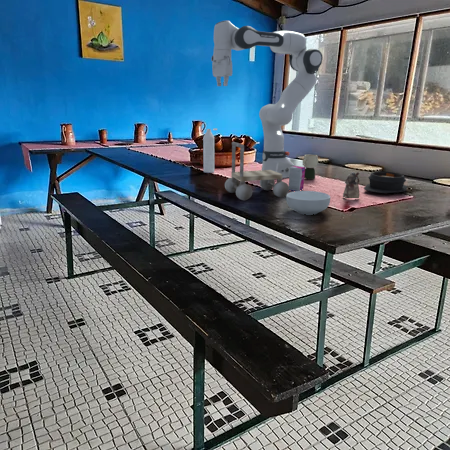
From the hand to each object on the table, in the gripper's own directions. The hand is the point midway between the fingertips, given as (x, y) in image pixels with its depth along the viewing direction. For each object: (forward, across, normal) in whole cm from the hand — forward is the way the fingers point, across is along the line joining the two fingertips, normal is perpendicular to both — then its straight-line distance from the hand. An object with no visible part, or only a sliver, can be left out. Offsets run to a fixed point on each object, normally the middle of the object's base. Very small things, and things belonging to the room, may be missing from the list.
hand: (222, 86), depth 207 cm
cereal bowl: (+48, -72, -11) cm, 87 cm away
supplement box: (+48, -37, -25) cm, 66 cm away
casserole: (+48, -52, -66) cm, 97 cm away
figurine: (+48, -59, -41) cm, 86 cm away
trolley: (+48, -39, -3) cm, 62 cm away
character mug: (+48, -15, -46) cm, 68 cm away
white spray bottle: (+48, +22, -1) cm, 53 cm away
